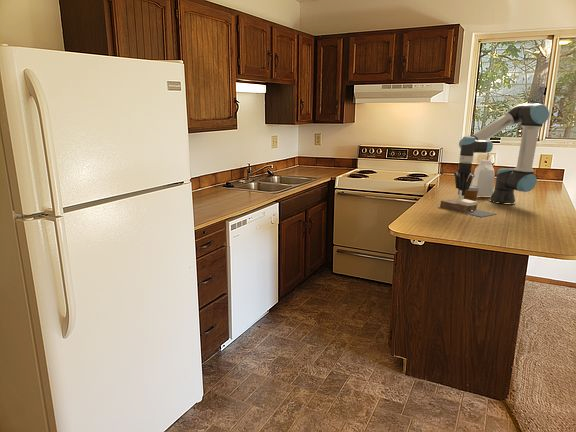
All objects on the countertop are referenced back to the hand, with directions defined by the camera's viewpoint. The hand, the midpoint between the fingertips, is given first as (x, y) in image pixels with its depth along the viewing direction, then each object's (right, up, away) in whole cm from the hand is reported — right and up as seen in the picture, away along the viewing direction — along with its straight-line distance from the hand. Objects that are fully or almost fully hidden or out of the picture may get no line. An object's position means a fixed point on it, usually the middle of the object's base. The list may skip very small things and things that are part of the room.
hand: (460, 200), depth 265 cm
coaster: (+2, -2, -4) cm, 5 cm away
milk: (+32, +4, +44) cm, 55 cm away
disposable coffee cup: (+11, -2, +15) cm, 19 cm away
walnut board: (-1, -5, +2) cm, 6 cm away
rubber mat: (+7, -8, -10) cm, 15 cm away
